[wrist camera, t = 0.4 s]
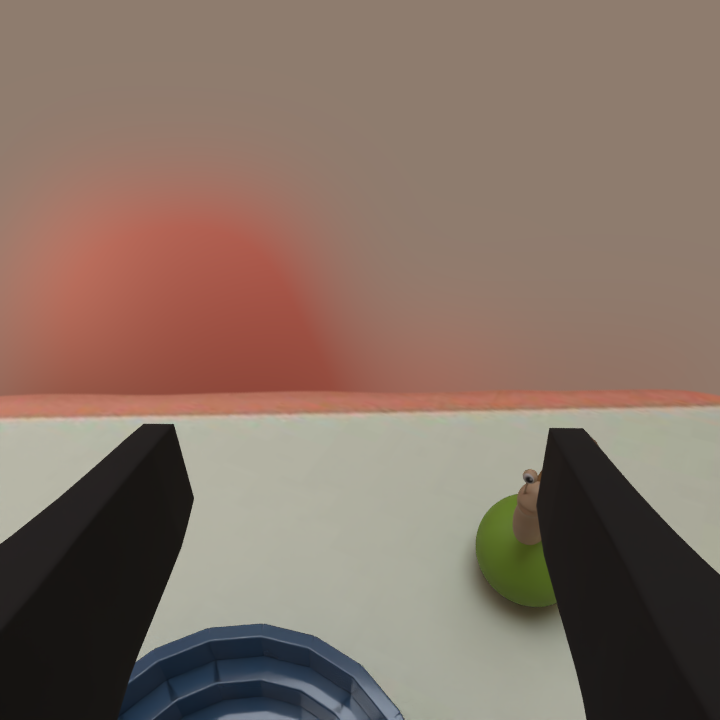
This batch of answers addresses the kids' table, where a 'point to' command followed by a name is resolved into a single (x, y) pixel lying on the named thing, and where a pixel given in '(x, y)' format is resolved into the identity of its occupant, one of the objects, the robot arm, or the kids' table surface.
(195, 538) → the kids' table surface
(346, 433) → the kids' table surface
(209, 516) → the kids' table surface
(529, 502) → the snail figurine
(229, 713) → the bowl
